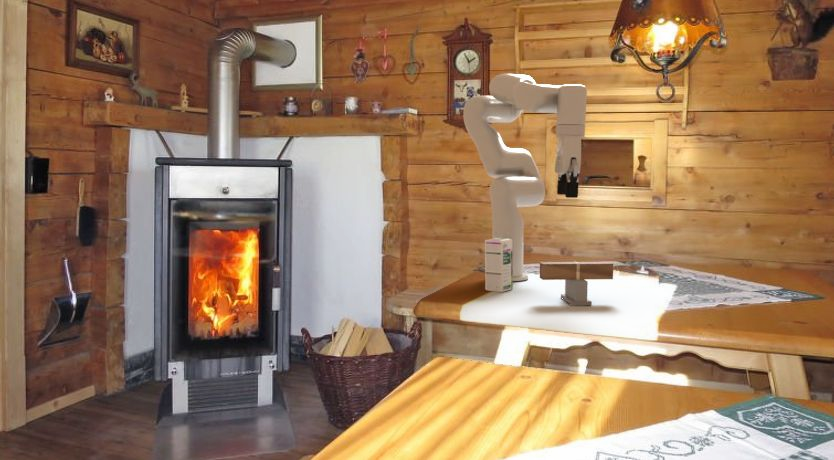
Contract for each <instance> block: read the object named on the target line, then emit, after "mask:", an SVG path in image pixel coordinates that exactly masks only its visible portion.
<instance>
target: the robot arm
mask: <svg viewBox="0 0 834 460" xmlns="http://www.w3.org/2000/svg"><path fill="white" fill-rule="evenodd" d="M488 88H489V93H490V95H475V96H472V97H469V99H467V100H466V102H465V104H464V106H463V111H462V112H463V116H462V117H463V122H464V126H465V129H466V131H467V133H468V135H469V137H470V138H471V140H472V141H473V143H474V146H475V148H476V149H477V150H476V151H477V153H478V156H479V158H480V161H481V163H482V166H483V168H484V170H485V173H486V175H487V176H488V177H490V178H492V179H493V180H492V181H491V183H490V185H489V190H488V192H489V199H490V204H491V212H492V213H491V214H492V215H491V216H492V217H491V218H492V226H491V227H492V236H491V237H492V238H491V239H495V238H508V239H512V262H513V282H521V281H527V280H528V279H529V275H528V274H527V273H524V244H525V243H524V236H525V234H524V233H525V231H524V229H525V228H524V227H525V226H524V225H525V224H524V218H523V216H522V213H521V212H520V211H519V209H518V208H522V207H523V208H526V207H527V208H529V207H536V206H539V205H541V204H542V203H543V202H544V200H545V198H546V187H545V184H544V181H543V179H542V176H541V173H540V171H539V169H538V167H537V164H536V162H535V160H534V157H533V156H532V155H531V153H530V152H529V151H528V150H526V149H524V148H519V147H513V148H512V147H507V146H506V145H505V143H504V141H503V138H502V136H501V134H500V133H499V132H498V130H496V129H495V128H494V127H493V126H492V125H490V123H491V124H493V123H495V124H509V123H513V122H514V121H515V120H517V119H518V118H519V117H520V116H521V114H522V113H523V112H525V111H526V112H529V113H530V112H531V113H536V114H537V113H541V114H544V113H545V114H556V125H555V126H556V127H555V138H557V143H556V150H555V151H556V152H555V153H556V155H555V161H554V162H555V164H554V172H555V173H556V174H557V175H558V176H557V186H556V187H557V189H556V190H557V191H556V194H557V195H561V196H562V195H564V196H565V197H566V198H568V199H569V198H571V199H572V198H573V199H574V198H578V197H579V182H580V181H579V180H580V178H579V176H580V172H581V165H582V138H585V136H586V117H587V115H586V113H587V97H588V96H587V95H588V91H587V87H586V86H585V85H582V84H563V85H554V84H553V85H552V84H539V83H538V84H537V83H536V81H535V80H534V79H533V77H531V76H530V75H526V74H515V73H500V74H498V75H496V76H494V77H493V78H492V79H491V81H490V83H489V86H488Z"/></svg>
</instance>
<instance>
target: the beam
mask: <svg viewBox="0 0 834 460" xmlns="http://www.w3.org/2000/svg"><path fill="white" fill-rule="evenodd" d="M539 279H541V280H543V281H545V280H546V281H552V280H553V281H555V280H556V281H557V280H559V281H561V280H562V281H563V280H581V279H584V280H614V263H613V262H610V261H560V262H559V261H540V262H539Z"/></svg>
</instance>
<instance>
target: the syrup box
mask: <svg viewBox="0 0 834 460" xmlns="http://www.w3.org/2000/svg"><path fill="white" fill-rule="evenodd" d="M484 276H485V277H484V278H485V279H484V284H485V285H484V286H485V287H484V289H485V290H486V291H489V292H495V293H504V292H507V291H512V290H513V288H514V287H513V285H514V283H513V282H514V281H513V262H512V239H508V238H495V239H492V238H489V239H485V240H484Z"/></svg>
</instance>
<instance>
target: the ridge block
mask: <svg viewBox="0 0 834 460" xmlns="http://www.w3.org/2000/svg"><path fill="white" fill-rule="evenodd" d="M588 282H589V281H588V280H587V279H581V280H565V282H564V284H565V285H564V287H565V288H564V293H561V294H560V298H561V299H562V298H563V299H564V300H566V301H567V302H568V304H569V303H570V304H571V305H592V303H593V301H591V300H590V299H588V286H589V285H588ZM563 299H562V300H563ZM564 300H563V301H564ZM566 301H565V302H566ZM567 302H566V303H567ZM570 304H569V305H570ZM571 305H570V306H571Z"/></svg>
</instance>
